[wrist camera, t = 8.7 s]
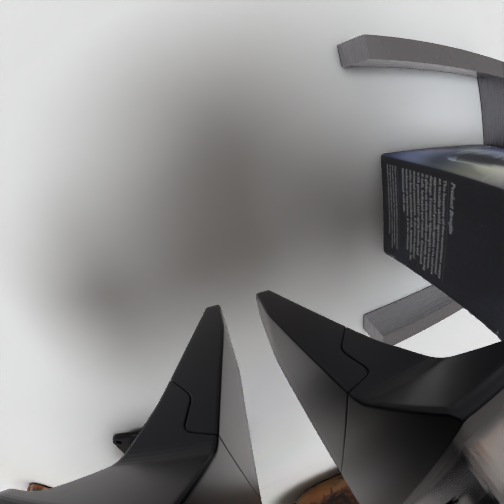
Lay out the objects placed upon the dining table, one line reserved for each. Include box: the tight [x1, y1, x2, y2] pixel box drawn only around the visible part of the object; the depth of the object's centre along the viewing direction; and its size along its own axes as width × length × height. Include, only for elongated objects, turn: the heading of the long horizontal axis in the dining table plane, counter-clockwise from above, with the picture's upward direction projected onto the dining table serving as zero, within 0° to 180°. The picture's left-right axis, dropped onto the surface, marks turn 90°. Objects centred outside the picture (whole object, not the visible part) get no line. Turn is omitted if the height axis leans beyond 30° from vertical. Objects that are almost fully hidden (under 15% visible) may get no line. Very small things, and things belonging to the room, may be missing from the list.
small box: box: [381, 145, 504, 341], centre depth 12 cm, size 11×6×10 cm, turn 101°
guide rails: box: [337, 35, 504, 345], centre depth 15 cm, size 17×13×2 cm
